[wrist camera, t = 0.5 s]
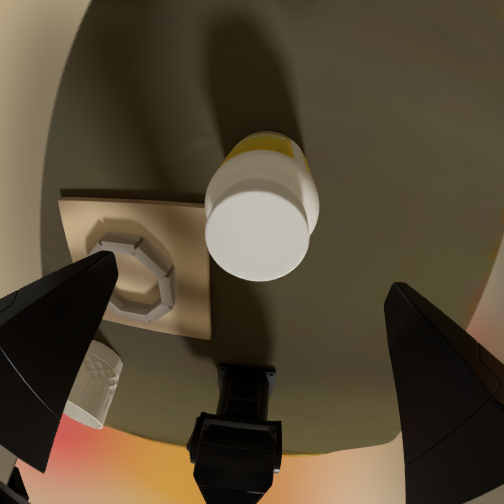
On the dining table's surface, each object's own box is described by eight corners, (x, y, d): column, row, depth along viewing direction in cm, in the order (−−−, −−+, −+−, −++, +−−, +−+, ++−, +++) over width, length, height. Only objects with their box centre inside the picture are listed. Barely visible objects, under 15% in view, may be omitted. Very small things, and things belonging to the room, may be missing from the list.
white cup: (69, 338, 33) (38, 392, 24) (100, 332, 31) (65, 395, 22) (104, 373, 36) (80, 425, 28) (138, 370, 34) (114, 432, 26)
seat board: (211, 334, 28) (206, 351, 26) (94, 311, 29) (85, 325, 27) (209, 204, 21) (201, 217, 19) (62, 196, 21) (47, 207, 19)
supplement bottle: (212, 168, 19) (159, 235, 11) (268, 114, 17) (257, 134, 9) (266, 219, 21) (256, 314, 13) (323, 172, 19) (357, 243, 10)
